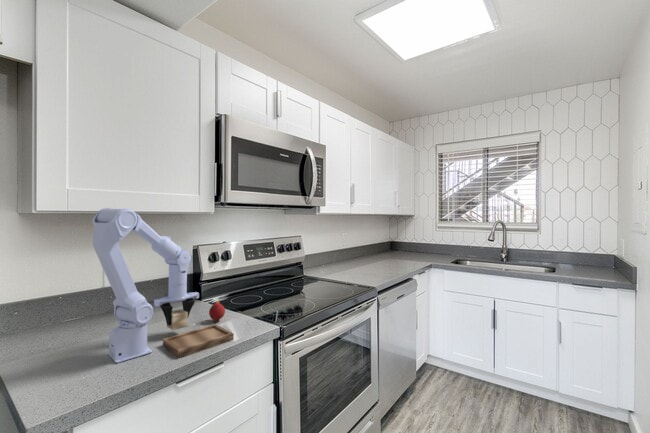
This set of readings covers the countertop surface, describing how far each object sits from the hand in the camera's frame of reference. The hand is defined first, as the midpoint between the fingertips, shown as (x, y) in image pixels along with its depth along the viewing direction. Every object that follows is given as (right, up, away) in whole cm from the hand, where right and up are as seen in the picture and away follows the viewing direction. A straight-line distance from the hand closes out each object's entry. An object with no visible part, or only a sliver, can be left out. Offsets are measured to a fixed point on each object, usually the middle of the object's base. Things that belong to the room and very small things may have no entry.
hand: (177, 322), depth 108 cm
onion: (+9, -4, +13) cm, 17 cm away
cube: (0, -1, 0) cm, 1 cm away
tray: (+10, -5, -6) cm, 13 cm away
